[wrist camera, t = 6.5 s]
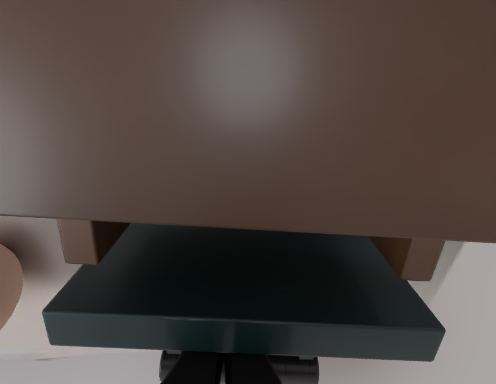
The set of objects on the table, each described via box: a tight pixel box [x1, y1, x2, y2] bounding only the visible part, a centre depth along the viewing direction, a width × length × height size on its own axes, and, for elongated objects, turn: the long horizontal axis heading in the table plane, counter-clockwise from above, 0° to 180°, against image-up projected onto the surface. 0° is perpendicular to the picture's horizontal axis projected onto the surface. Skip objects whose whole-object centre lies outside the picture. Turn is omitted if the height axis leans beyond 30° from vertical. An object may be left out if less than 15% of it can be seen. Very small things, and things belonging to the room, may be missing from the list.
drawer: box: [42, 219, 445, 384], centre depth 9 cm, size 17×10×7 cm, turn 176°
